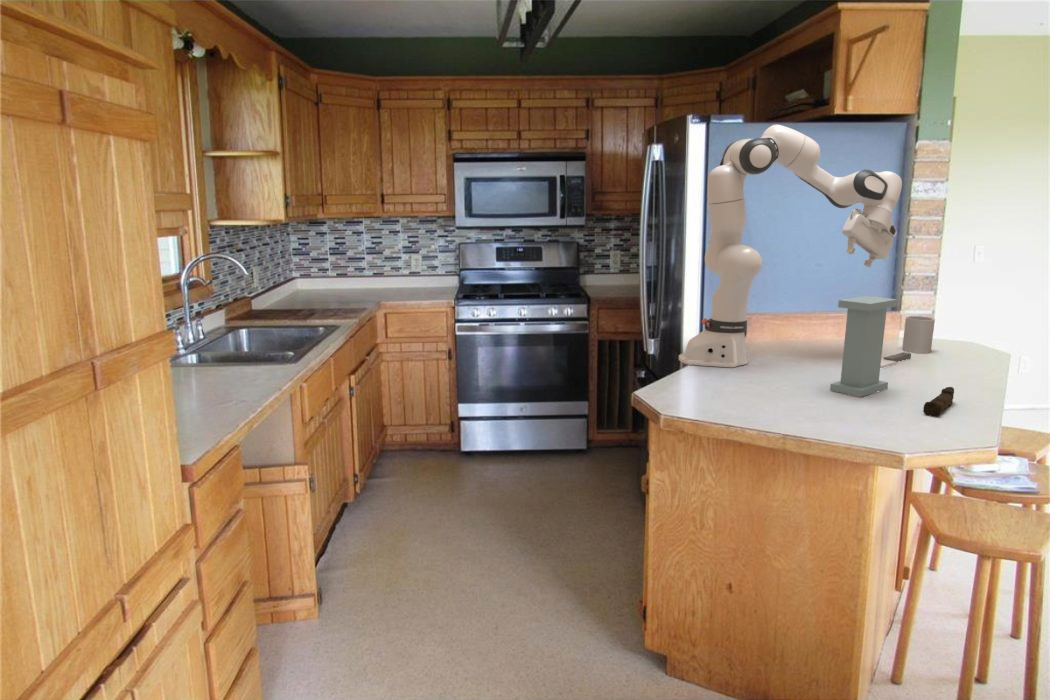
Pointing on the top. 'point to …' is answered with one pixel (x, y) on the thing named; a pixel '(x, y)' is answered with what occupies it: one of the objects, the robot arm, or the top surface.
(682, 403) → the top surface
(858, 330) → the stand
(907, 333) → the cup
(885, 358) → the turner
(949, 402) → the dark brown elongated piece
